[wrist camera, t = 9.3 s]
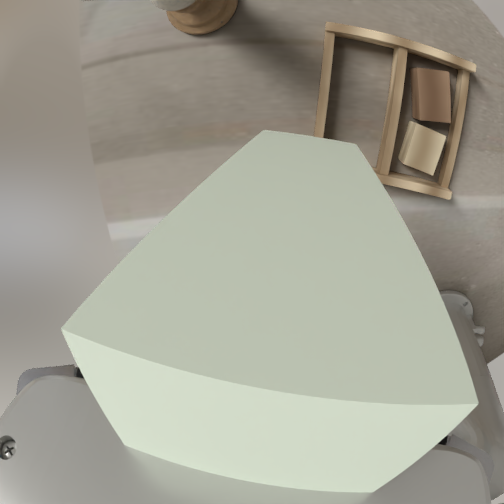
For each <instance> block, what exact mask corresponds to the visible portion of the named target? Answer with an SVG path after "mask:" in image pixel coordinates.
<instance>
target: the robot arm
mask: <svg viewBox="0 0 504 504" xmlns="http://www.w3.org/2000/svg"><path fill="white" fill-rule="evenodd" d="M439 293H440V295H441V298H442V300H443V302H444V305H445V307H446V309H447V312H448V314H449V317H450V319H451V322H452V324H453V327H454V329H455V332H456V335H457V337H458V340H459V343H460V345H461V348H462V351H463V354H464V357H465V360H466V363H467V366H468V369H469V372H470V375H471V378H472V382H473V385H474V388H475V392H476V395H477V399H478V402H479V404H478V405H477V406H476V407H475V408H474V409H473V410H472V411H471V412H470V413H469V414H468V415H467V416H466V417H465V418H464V419H463V420H462V421H461V422H460V423H459V424H458V425H457V426H456V427H455V428H454V429H453V430H452V431H451V432H450V433H449V434H448V435H447V436H445V437H444V438H443V439H442V440H441V441H440V442H439V443H438V444H436V445H435V446H434V447H433V448H432V449H431V450H429V451H428V452H427V453H426V454H425V455H423V456H422V457H421V458H420V459H418V460H417V461H416V462H415V463H413V464H412V465H411V466H409V467H408V468H407V469H406V470H404V471H403V472H402V473H400V474H399V475H397V476H396V477H395V478H393V479H392V480H390V481H389V482H388V483H386V484H385V485H383V486H382V487H380V488H379V489H377V490H376V491H374V492H332V491H317V490H305V489H296V488H287V487H280V486H273V485H267V484H261V483H255V482H249V481H244V480H239V479H234V478H230V477H225V476H221V475H217V474H213V473H209V472H205V471H201V470H197V469H194V468H190V467H187V466H183V465H180V464H177V463H174V462H170V461H167V460H164V459H161V458H158V457H156V456H153V455H150V454H147V453H144V452H142V451H139V450H136V449H134V448H131V447H129V446H126V445H124V443H123V442H122V440H121V439H120V437H119V436H118V434H117V433H116V431H115V430H114V428H113V427H112V425H111V424H110V422H109V420H108V419H107V417H106V415H105V414H104V412H103V411H102V409H101V407H100V405H99V404H98V402H97V400H96V399H95V397H94V395H93V393H92V391H91V390H90V388H89V386H88V384H87V382H86V380H85V378H84V377H83V375H82V373H81V371H80V369H79V367H75V366H74V364H73V365H64V366H56V367H45V368H33V369H29V370H26V371H25V372H23V373H22V375H21V376H20V378H19V381H18V386H17V396H16V397H15V398H14V400H13V401H12V402H11V403H10V405H9V406H8V407H7V409H6V410H5V412H4V413H3V415H2V416H1V418H0V504H491V500H493V499H495V498H497V497H498V496H500V495H501V494H503V493H504V412H503V409H502V407H501V404H500V401H499V398H498V395H497V392H496V389H495V386H494V383H493V380H492V378H491V375H490V372H489V369H488V366H487V364H486V361H485V358H484V356H483V353H482V351H481V348H480V346H482V345H483V341H484V339H483V336H477V335H475V333H476V334H483V333H484V331H485V327H484V326H475V324H474V322H473V320H472V318H473V307H472V304H471V302H470V300H469V299H468V298H467V296H465V295H464V294H463V293H460V292H458V291H452V290H450V291H441V292H439ZM500 504H504V503H500Z"/></svg>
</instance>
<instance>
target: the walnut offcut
mask: <svg viewBox="0 0 504 504" xmlns="http://www.w3.org/2000/svg"><path fill="white" fill-rule="evenodd" d="M410 78H411V92H412V115H413V118H415V119H418V120H424V121H436V122H446V123H451V98H450V78H449V72H447V71H441V70H433V69H425V68H411V69H410Z"/></svg>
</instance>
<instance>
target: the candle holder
mask: <svg viewBox="0 0 504 504" xmlns="http://www.w3.org/2000/svg"><path fill="white" fill-rule="evenodd" d="M83 1H92V0H83ZM151 2H152V3H153V4H154V5H155V6H156V7H158V8H160V9H162V10H166V12H167V16H168V18H169V21H170V22H171V23H172V25H173V26H174V27H175V28H177V29H178V30H180V31H182V32H185V33H188V34H195V35H198V34H207V33H210V32H213V31H215V30H217V29H219V28H221V27H222V26H223V25H225V24H226V23H227V22H228V21H229V20H230V19H231V17H232V16H233V14H234V12H235V10H236V7H237V3H238V0H151Z"/></svg>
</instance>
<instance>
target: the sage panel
mask: <svg viewBox="0 0 504 504" xmlns="http://www.w3.org/2000/svg"><path fill="white" fill-rule="evenodd" d="M61 330H62V332H63V335H64V337H65V339H66V342H67V344H68V346H69V348H70V350H71V352H72V354H73V357H74V359H75V361H76V363H77V365H78V367H79V369H80V371H81V373H82V375H83V377H84V378H85V380H86V382H87V384H88V386H89V388H90V390H91V391H92V393H93V395H94V397H95V399H96V400H97V402H98V404H99V405H100V407H101V409H102V411H103V412H104V414H105V415H106V417H107V419H108V420H109V422H110V424H111V425H112V427H113V428H114V430H115V431H116V433H117V434H118V436H119V437H120V439H121V440H122V442H123V443H124V445H126V446H129V447H131V448H134V449H136V450H139V451H142V452H144V453H147V454H150V455H153V456H156V457H158V458H161V459H164V460H167V461H170V462H174V463H177V464H180V465H183V466H187V467H190V468H194V469H197V470H201V471H205V472H209V473H213V474H217V475H221V476H225V477H230V478H234V479H239V480H244V481H249V482H255V483H261V484H267V485H273V486H280V487H287V488H296V489H305V490H317V491H332V492H374V491H376V490H377V489H379V488H380V487H382V486H383V485H385V484H386V483H388V482H389V481H390V480H392V479H393V478H395V477H396V476H397V475H399V474H400V473H402V472H403V471H404V470H406V469H407V468H408V467H409V466H411V465H412V464H413V463H415V462H416V461H417V460H418V459H420V458H421V457H422V456H423V455H425V454H426V453H427V452H428V451H429V450H431V449H432V448H433V447H434V446H435V445H436V444H438V443H439V442H440V441H441V440H442V439H443V438H444V437H445V436H447V435H448V434H449V433H450V432H451V431H452V430H453V429H454V428H455V427H456V426H457V425H458V424H459V423H460V422H461V421H462V420H463V419H464V418H465V417H466V416H467V415H468V414H469V413H470V412H471V411H472V410H473V409H474V408H475V407H476V406H477V405H478V404H479V402H478V399H477V395H476V392H475V388H474V385H473V382H472V378H471V375H470V372H469V369H468V366H467V363H466V360H465V357H464V354H463V351H462V348H461V345H460V343H459V340H458V337H457V335H456V332H455V329H454V327H453V324H452V322H451V319H450V317H449V314H448V312H447V309H446V307H445V305H444V302H443V300H442V298H441V295H440V293H439V291H438V289H437V286H436V284H435V282H434V280H433V278H432V275H431V273H430V271H429V269H428V267H427V265H426V263H425V261H424V259H423V257H422V255H421V253H420V251H419V249H418V247H417V245H416V243H415V241H414V239H413V237H412V235H411V233H410V232H409V230H408V228H407V226H406V224H405V222H404V221H403V219H402V217H401V215H400V213H399V212H398V210H397V208H396V206H395V205H394V203H393V201H392V200H391V198H390V196H389V195H388V193H387V191H386V190H385V188H384V186H383V185H382V183H381V181H380V180H379V178H378V177H377V175H376V173H375V172H374V170H373V169H372V167H371V166H370V164H369V163H368V161H367V160H366V158H365V157H364V155H363V154H362V152H361V151H360V149H359V148H358V146H357V145H356V144H353V143H348V142H343V141H337V140H331V139H325V138H319V137H313V136H307V135H300V134H293V133H285V132H277V131H269V130H263V131H262V132H261V133H259V134H258V135H257V136H256V137H254V138H253V139H252V140H251V141H250V142H248V143H247V144H246V145H245V146H244V147H242V148H241V149H240V150H239V151H238V152H237V153H235V154H234V155H233V156H232V157H231V158H230V159H228V160H227V161H226V162H225V163H224V164H223V165H221V166H220V167H219V168H218V169H217V170H216V171H215V172H214V173H212V174H211V175H210V176H209V177H208V178H207V179H206V180H205V181H203V182H202V183H201V184H200V185H199V186H198V187H197V188H196V189H195V190H194V191H192V192H191V193H190V194H189V195H188V196H187V197H186V198H185V199H184V200H183V201H182V202H181V203H180V204H178V205H177V206H176V207H175V208H174V209H173V210H172V211H171V212H170V213H169V214H168V215H167V216H166V217H165V218H164V219H163V220H162V221H161V222H160V223H159V224H158V225H157V226H156V227H155V228H154V229H153V230H152V231H151V232H150V233H148V234H147V235H146V236H145V237H144V238H143V239H142V240H141V242H140V243H139V244H138V245H137V246H136V247H135V248H134V249H133V250H132V251H131V252H130V253H129V254H128V255H127V256H126V257H125V258H124V259H123V260H122V261H121V262H120V263H119V264H118V265H117V266H116V267H115V269H114V270H113V271H112V272H111V273H110V274H109V275H108V276H107V277H106V278H105V279H104V280H103V281H102V283H101V284H100V285H99V286H98V287H97V288H96V289H95V290H94V291H93V292H92V293H91V295H90V296H89V297H88V298H87V299H86V300H85V301H84V302H83V304H82V305H81V306H80V307H79V308H78V309H77V311H76V312H75V313H74V314H73V315H72V316H71V317H70V319H69V320H68V321H67V322H66V323H65V325H64V326H63V327H62V328H61Z"/></svg>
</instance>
